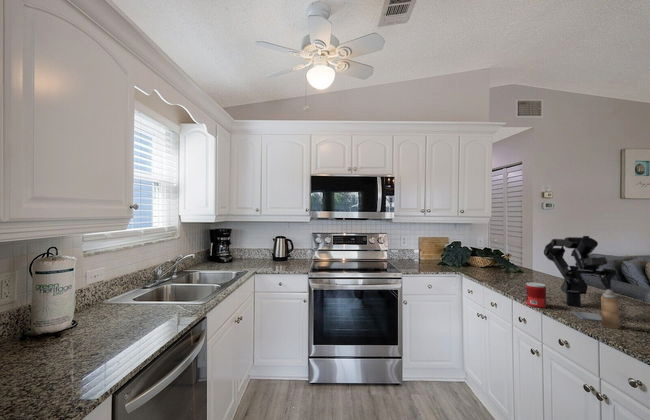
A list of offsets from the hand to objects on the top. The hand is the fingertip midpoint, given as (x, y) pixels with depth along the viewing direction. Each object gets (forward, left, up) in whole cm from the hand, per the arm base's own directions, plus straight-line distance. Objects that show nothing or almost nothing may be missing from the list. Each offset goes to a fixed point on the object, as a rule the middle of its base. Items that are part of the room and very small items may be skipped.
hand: (596, 289), depth 125 cm
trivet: (-1, -2, -13) cm, 13 cm away
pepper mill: (+8, +1, -13) cm, 16 cm away
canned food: (-12, -19, -13) cm, 26 cm away
